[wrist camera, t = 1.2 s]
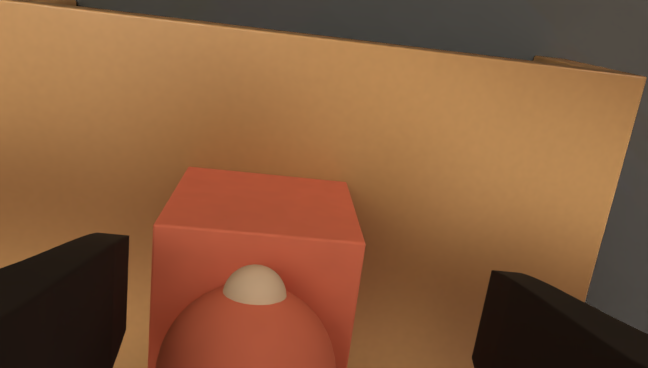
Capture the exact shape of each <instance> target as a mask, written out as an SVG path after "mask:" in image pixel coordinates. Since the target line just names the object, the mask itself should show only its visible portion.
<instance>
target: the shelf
mask: <svg viewBox="0 0 648 368" xmlns="http://www.w3.org/2000/svg"><path fill="white" fill-rule="evenodd" d="M645 82H646V77H644V76H640V75H635V74H631V73H626V72H621V71H617V70H612V69H608V68H603V67H599V66H594V65H590V64H585V63H581V62H576V61H572V60H567V59H560V58H552V57H544V56H535V57H534V60H533V61H529V60H521V59H512V58H504V57H496V56H487V55H479V54H471V53H462V52H454V51H446V50H438V49H429V48H421V47H413V46H404V45H396V44H388V43H379V42H371V41H363V40H355V39H346V38H338V37H330V36H321V35H313V34H305V33H296V32H288V31H280V30H272V29H263V28H255V27H247V26H238V25H230V24H222V23H213V22H205V21H197V20H189V19H180V18H172V17H164V16H155V15H147V14H139V13H130V12H122V11H114V10H106V9H97V8H89V7H81V6H76V1H75V0H0V268H3V267H6V266H8V265H11V264H14V263H17V262H19V261H22V260H25V259H27V258H30V257H32V256H35V255H37V254H39V253H42V252H44V251H47V250H49V249H52V248H54V247H57V246H59V245H62V244H64V243H66V242H69V241H72V240H74V239H77V238H79V237H82V236H85V235H88V234H92V233H97V232H98V233H108V234H119V235H129V261H128V290H127V319H126V332H125V334H124V337H123V340H122V343H121V346H120V349H119V352H118V355H117V358H116V360H115V363H114V366H113V368H148V346H149V320H150V294H151V268H152V242H153V225H154V223H155V221H156V220H157V218H158V216H159V215H160V213H161V212H162V210H163V208H164V207H165V205H166V203H167V202H168V200H169V198H170V197H171V195H172V193H173V192H174V190H175V188H176V187H177V185H178V183H179V182H180V180H181V178H182V177H183V175H184V173H185V172H186V170H187V168H188V167H199V168H209V169H219V170H230V171H240V172H250V173H260V174H270V175H280V176H290V177H300V178H310V179H320V180H331V181H341V182H346V183H347V186H348V189H349V192H350V195H351V199H352V202H353V205H354V208H355V212H356V215H357V218H358V221H359V225H360V228H361V231H362V234H363V238H364V241H365V244H366V246H365V253H364V259H363V266H362V272H361V279H360V286H359V292H358V299H357V305H356V312H355V319H354V325H353V332H352V338H351V345H350V352H349V358H348V365H347V368H474V365H473V361H472V354H473V349H474V345H475V341H476V336H477V332H478V327H479V323H480V319H481V314H482V310H483V306H484V301H485V297H486V293H487V288H488V284H489V280H490V275H491V271H492V270H497V271H507V272H518V273H523V274H526V275H529V276H532V277H534V278H537V279H539V280H541V281H543V282H545V283H548V284H550V285H552V286H554V287H556V288H558V289H560V290H562V291H563V292H565V293H567V294H569V295H571V296H573V297H575V298H577V299H579V300H581V301H583V302H584V303H585V299H586V296H587V292H588V289H589V285H590V281H591V278H592V274H593V270H594V267H595V263H596V260H597V256H598V252H599V249H600V245H601V241H602V238H603V234H604V231H605V227H606V223H607V220H608V216H609V212H610V209H611V205H612V202H613V198H614V194H615V191H616V187H617V183H618V180H619V176H620V173H621V169H622V165H623V162H624V158H625V154H626V151H627V147H628V144H629V140H630V136H631V133H632V129H633V125H634V122H635V118H636V115H637V111H638V107H639V104H640V100H641V96H642V93H643V89H644V86H645Z"/></svg>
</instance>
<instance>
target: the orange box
mask: <svg viewBox="0 0 648 368" xmlns="http://www.w3.org/2000/svg"><path fill="white" fill-rule="evenodd" d="M365 246H366V244H365V241H364V238H363V234H362V231H361V228H360V225H359V221H358V218H357V215H356V212H355V208H354V205H353V202H352V199H351V195H350V192H349V189H348V186H347V183H346V182H341V181H331V180H320V179H310V178H300V177H290V176H280V175H270V174H260V173H250V172H240V171H230V170H219V169H209V168H199V167H188V168H187V170H186V172H185V173H184V175H183V177H182V178H181V180H180V182H179V183H178V185H177V187H176V188H175V190H174V192H173V193H172V195H171V197H170V198H169V200H168V202H167V203H166V205H165V207H164V208H163V210H162V212H161V213H160V215H159V216H158V218H157V220H156V221H155V223H154V225H153V242H152V268H151V294H150V320H149V346H148V368H347V365H348V358H349V352H350V345H351V338H352V332H353V325H354V319H355V312H356V305H357V299H358V292H359V286H360V279H361V272H362V266H363V259H364V253H365Z"/></svg>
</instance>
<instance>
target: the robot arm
mask: <svg viewBox="0 0 648 368" xmlns="http://www.w3.org/2000/svg"><path fill="white" fill-rule="evenodd" d="M128 261H129V235H119V234H108V233H98V232H97V233H92V234H88V235H85V236H82V237H79V238H77V239H74V240H72V241H69V242H66V243H64V244H62V245H59V246H57V247H54V248H52V249H49V250H47V251H44V252H42V253H39V254H37V255H35V256H32V257H30V258H27V259H25V260H22V261H19V262H17V263H14V264H11V265H8V266H6V267H3V268H0V368H113V366H114V363H115V360H116V358H117V355H118V352H119V349H120V346H121V343H122V340H123V337H124V334H125V332H126V319H127V290H128ZM472 361H473V365H474V368H648V334H646V333H644V332H642V331H640V330H638V329H636V328H633V327H631V326H629V325H627V324H625V323H623V322H621V321H619V320H617V319H615V318H613V317H611V316H609V315H607V314H605V313H604V312H602V311H600V310H598V309H596V308H594V307H592V306H590V305H588V304H586V303H584V302H583V301H581V300H579V299H577V298H575V297H573V296H571V295H569V294H567V293H565V292H563V291H562V290H560V289H558V288H556V287H554V286H552V285H550V284H548V283H545V282H543V281H541V280H539V279H537V278H534V277H532V276H529V275H526V274H523V273H518V272H507V271H497V270H492V271H491V275H490V280H489V284H488V288H487V293H486V297H485V301H484V306H483V310H482V314H481V319H480V323H479V327H478V332H477V336H476V341H475V345H474V349H473V354H472Z"/></svg>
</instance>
